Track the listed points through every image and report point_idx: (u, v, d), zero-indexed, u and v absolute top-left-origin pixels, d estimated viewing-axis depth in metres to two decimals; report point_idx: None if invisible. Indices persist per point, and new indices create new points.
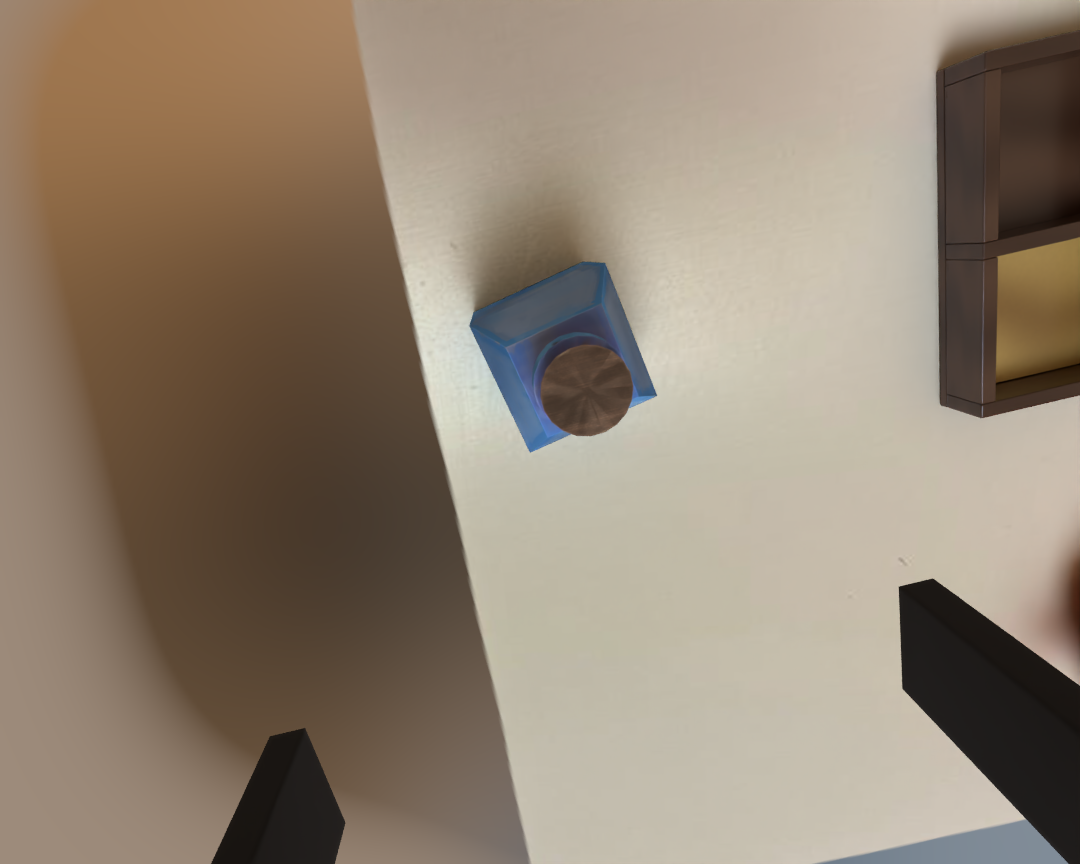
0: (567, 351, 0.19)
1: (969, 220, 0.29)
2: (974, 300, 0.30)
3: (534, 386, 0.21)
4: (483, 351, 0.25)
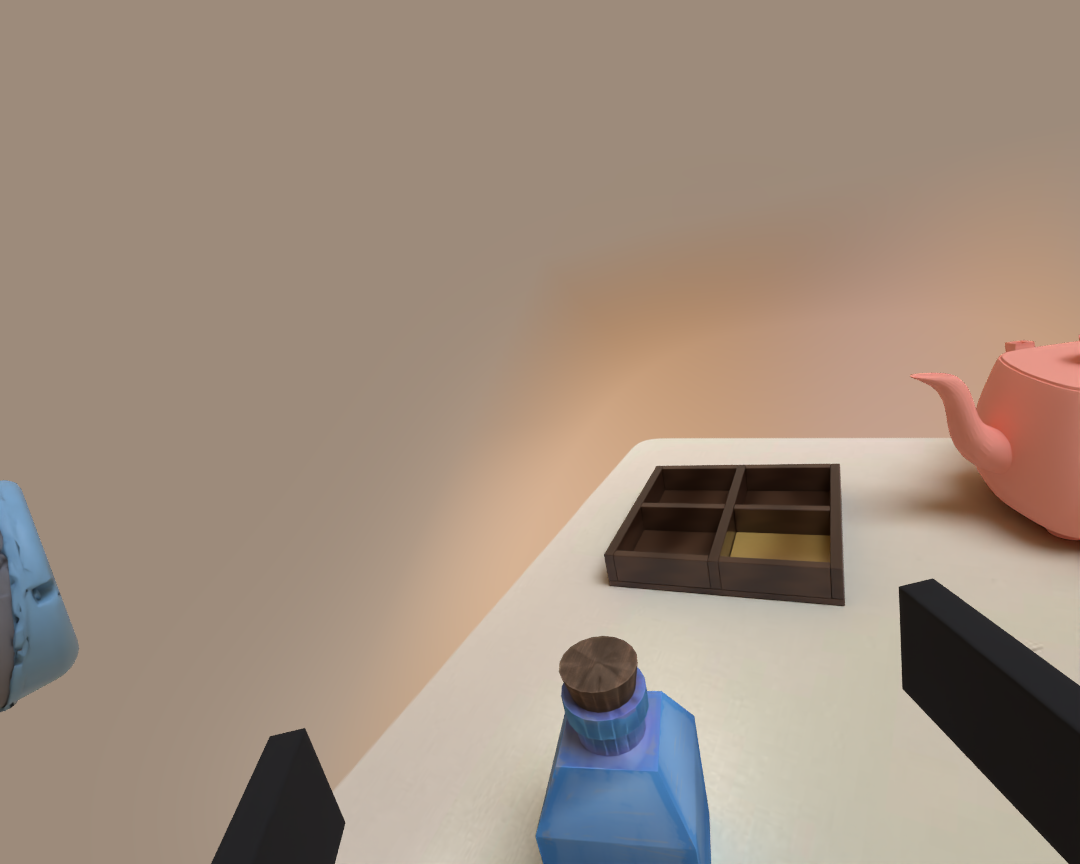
0: (560, 663, 0.24)
1: (693, 569, 0.45)
2: (747, 569, 0.43)
3: (581, 717, 0.22)
4: (564, 833, 0.23)
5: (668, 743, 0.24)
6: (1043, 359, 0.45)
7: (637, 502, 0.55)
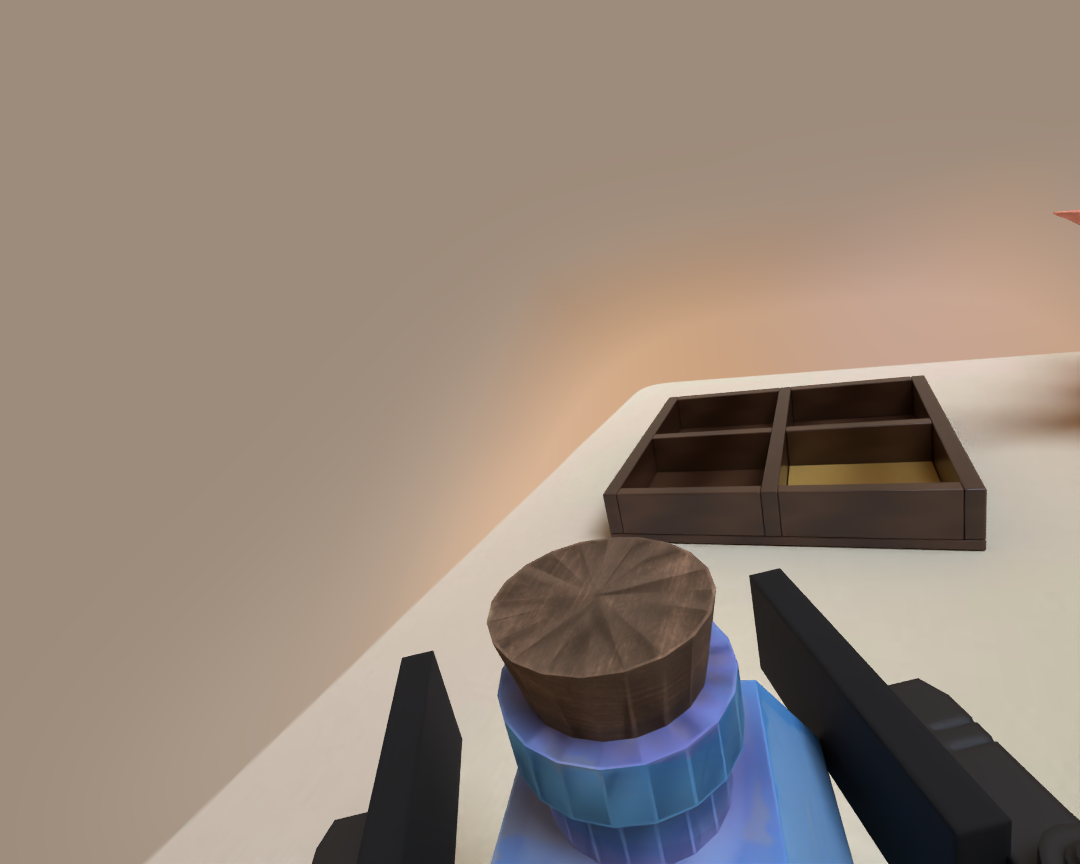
0: (494, 602, 0.08)
1: (738, 507, 0.30)
2: (824, 501, 0.28)
3: (552, 759, 0.07)
4: None
5: (797, 823, 0.08)
6: None
7: (646, 434, 0.40)
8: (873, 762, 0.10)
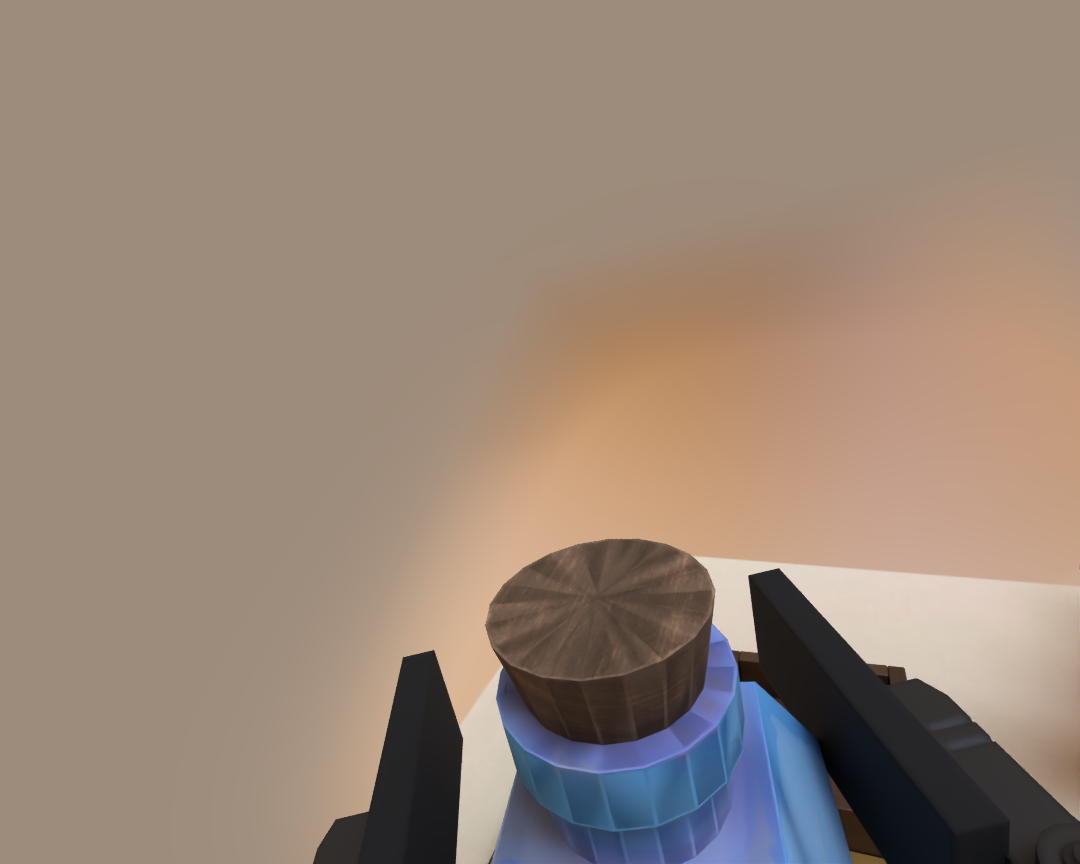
0: (492, 605, 0.08)
1: None
2: None
3: (551, 762, 0.07)
4: None
5: (798, 825, 0.08)
6: None
7: None
8: (872, 762, 0.10)
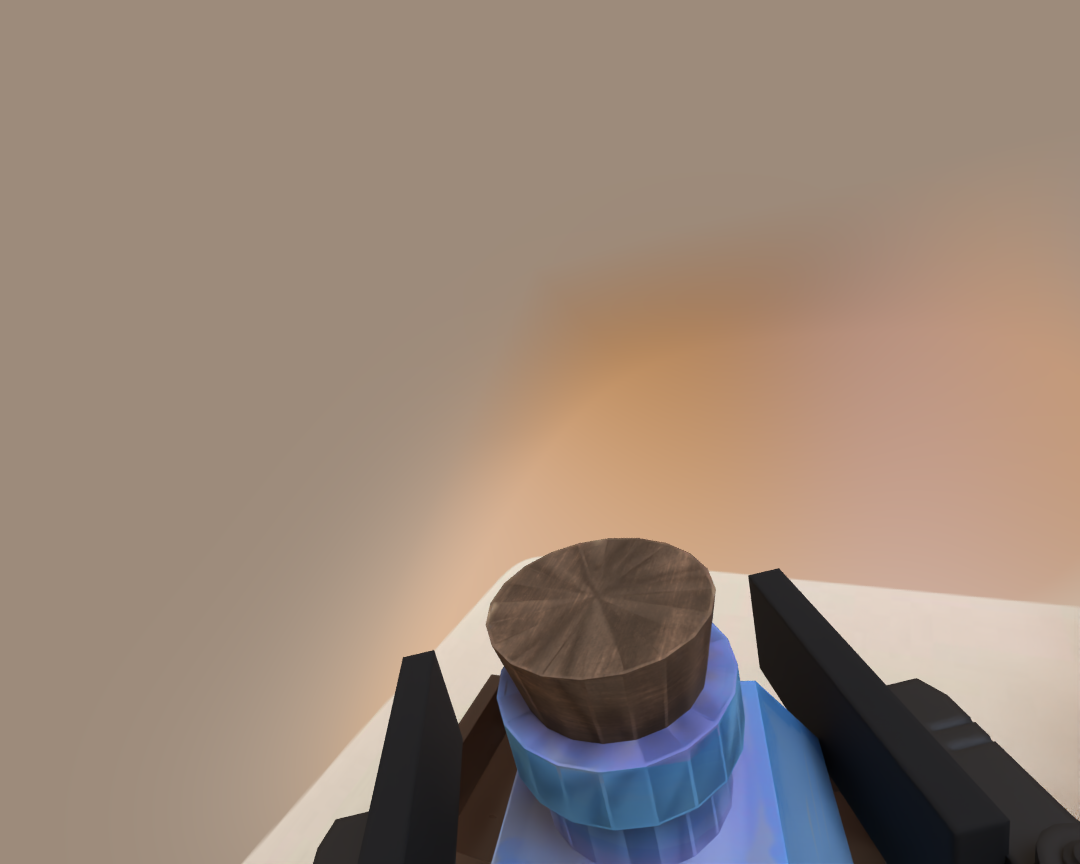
0: (492, 604, 0.08)
1: None
2: None
3: (551, 761, 0.07)
4: None
5: (798, 823, 0.08)
6: None
7: None
8: (871, 763, 0.10)
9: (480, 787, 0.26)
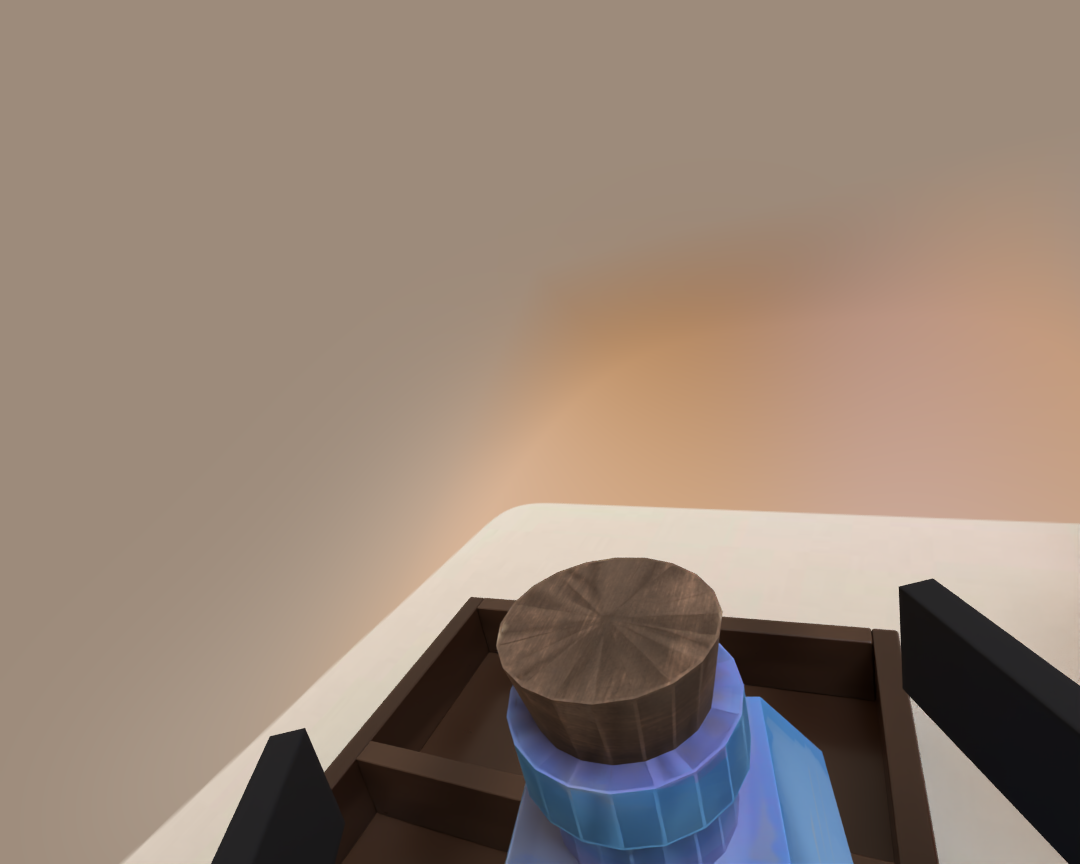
0: (502, 625, 0.09)
1: None
2: None
3: (562, 782, 0.07)
4: None
5: (803, 841, 0.09)
6: None
7: (359, 736, 0.21)
8: None
9: (456, 706, 0.25)
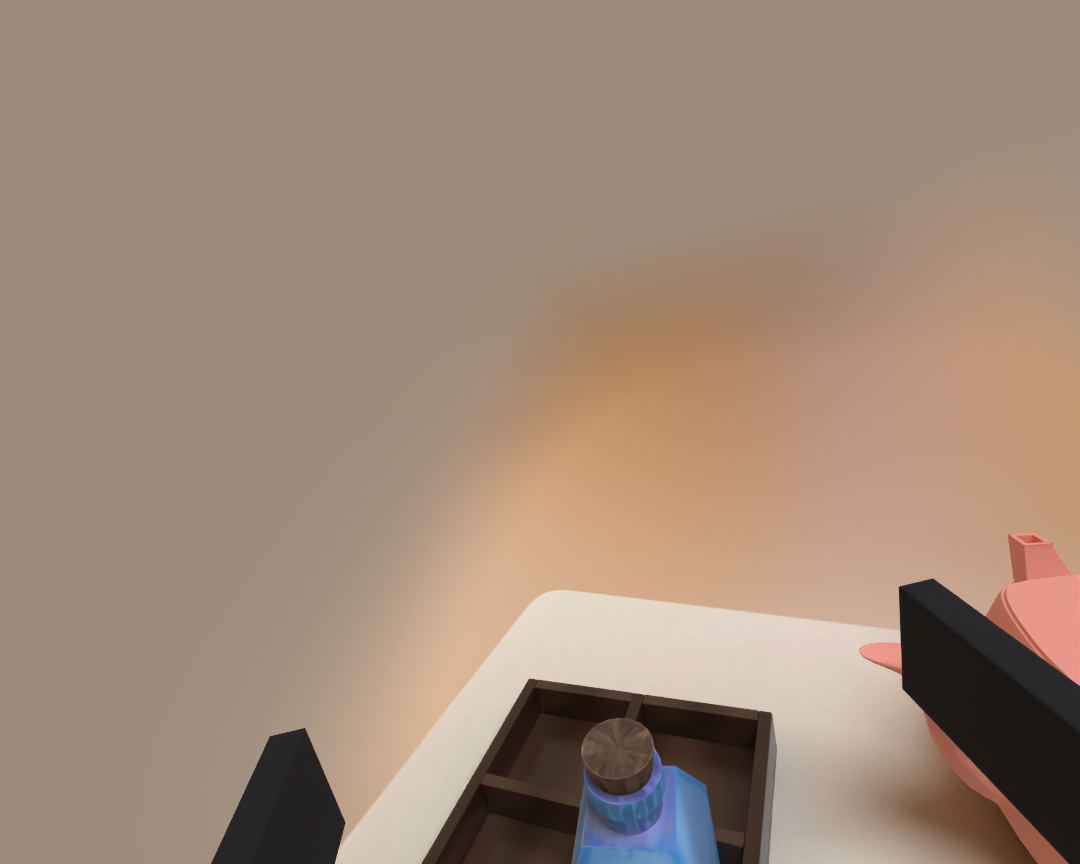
0: (582, 747, 0.26)
1: None
2: None
3: (604, 801, 0.24)
4: None
5: (683, 819, 0.26)
6: (1076, 619, 0.27)
7: (478, 770, 0.38)
8: None
9: (525, 749, 0.42)
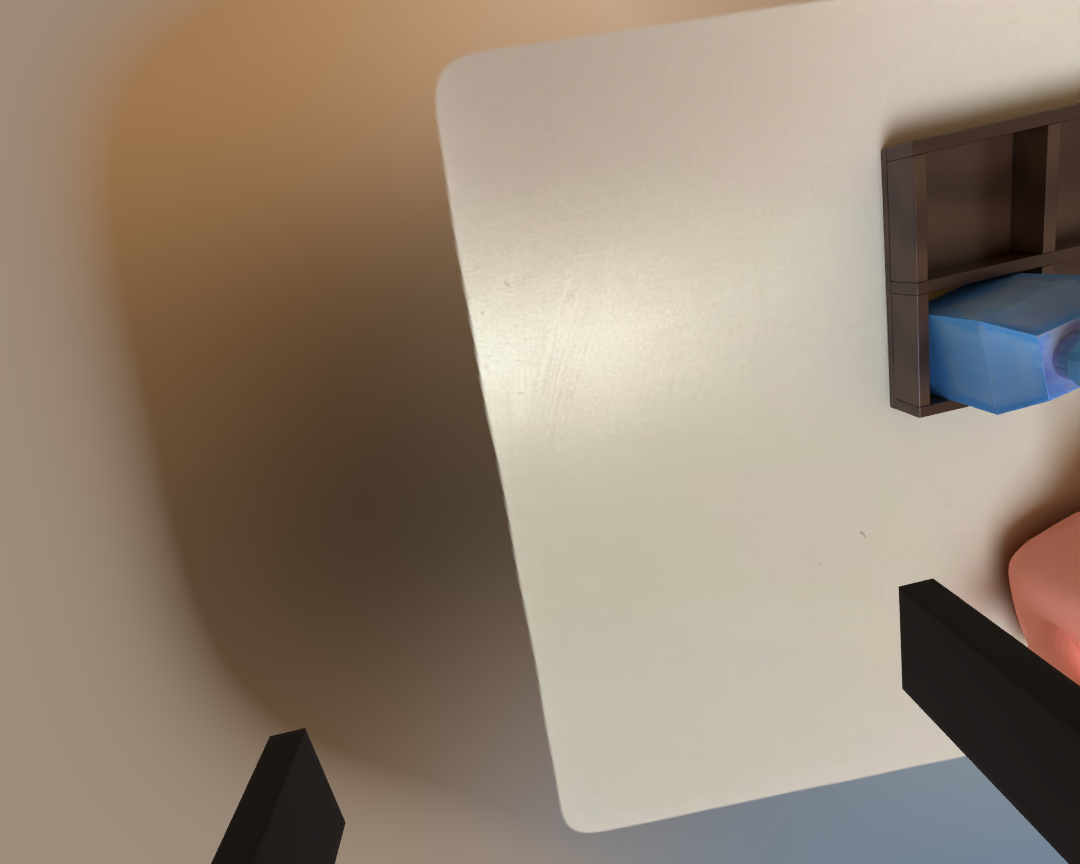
0: None
1: (906, 264, 0.37)
2: (911, 326, 0.38)
3: None
4: (985, 339, 0.34)
5: None
6: None
7: (1063, 111, 0.35)
8: None
9: None
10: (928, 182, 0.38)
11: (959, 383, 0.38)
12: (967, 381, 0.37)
